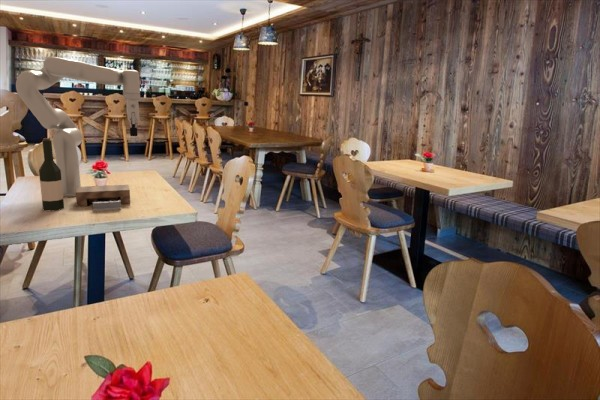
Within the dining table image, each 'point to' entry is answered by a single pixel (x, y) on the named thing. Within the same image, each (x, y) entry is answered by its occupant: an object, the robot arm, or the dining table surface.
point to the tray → (106, 205)
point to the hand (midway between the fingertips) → (133, 136)
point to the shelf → (102, 194)
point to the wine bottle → (50, 180)
